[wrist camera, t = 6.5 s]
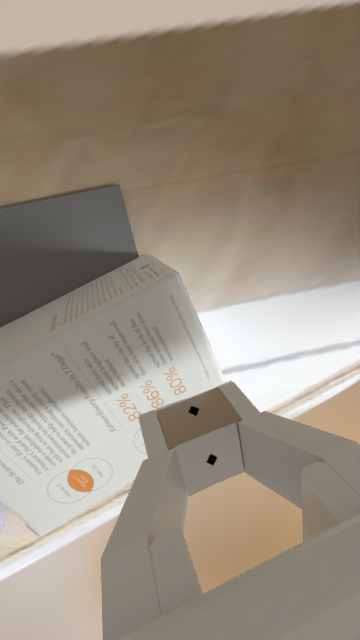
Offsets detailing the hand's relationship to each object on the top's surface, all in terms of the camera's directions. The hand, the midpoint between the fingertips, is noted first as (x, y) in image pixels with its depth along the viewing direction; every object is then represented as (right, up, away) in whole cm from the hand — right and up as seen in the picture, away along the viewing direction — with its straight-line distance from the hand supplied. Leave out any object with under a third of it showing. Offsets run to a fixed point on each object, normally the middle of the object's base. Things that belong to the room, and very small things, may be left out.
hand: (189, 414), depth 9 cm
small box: (+1, +2, +5) cm, 6 cm away
